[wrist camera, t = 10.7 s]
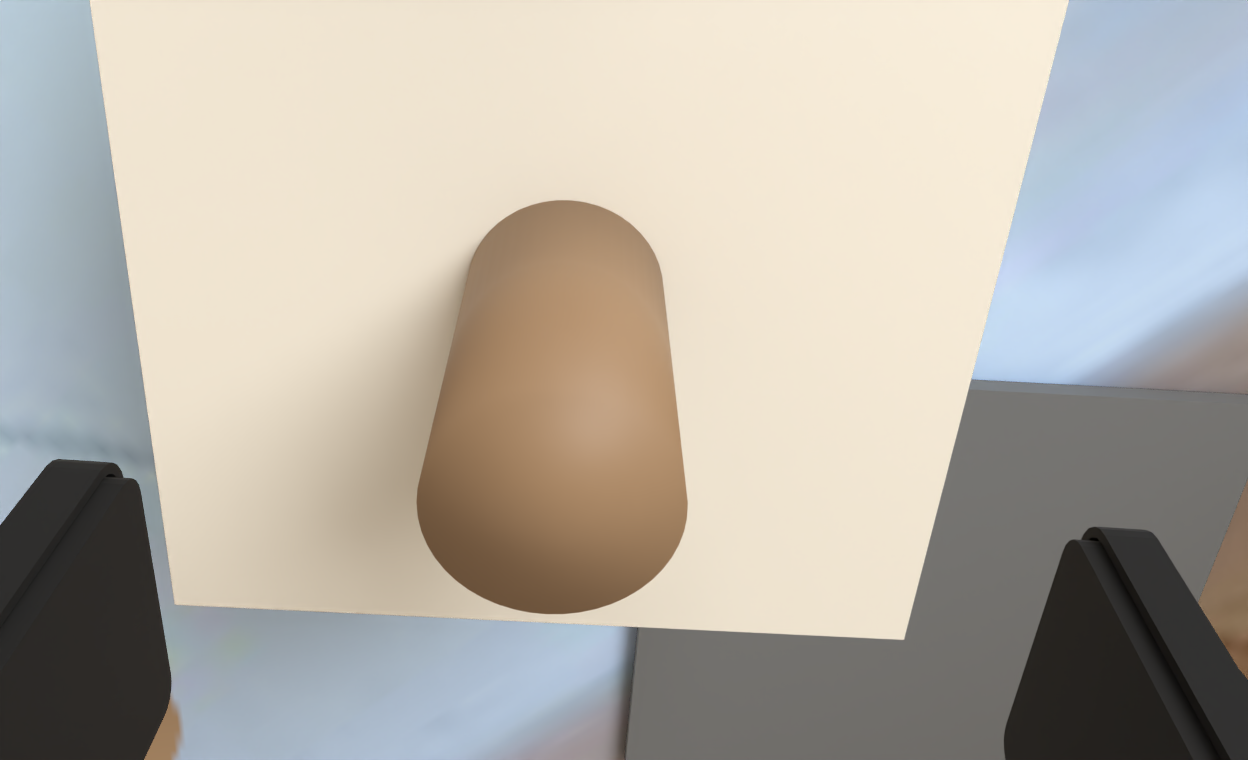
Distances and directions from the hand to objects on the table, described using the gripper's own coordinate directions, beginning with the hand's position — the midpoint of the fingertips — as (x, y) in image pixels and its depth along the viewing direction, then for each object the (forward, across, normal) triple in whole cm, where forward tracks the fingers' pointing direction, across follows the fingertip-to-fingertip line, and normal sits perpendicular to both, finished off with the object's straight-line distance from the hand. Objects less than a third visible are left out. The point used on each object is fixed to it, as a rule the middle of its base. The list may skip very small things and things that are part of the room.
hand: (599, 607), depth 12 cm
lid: (+9, +1, 0) cm, 9 cm away
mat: (+21, -11, +16) cm, 28 cm away
